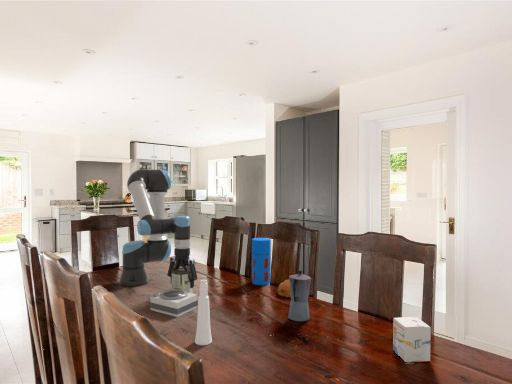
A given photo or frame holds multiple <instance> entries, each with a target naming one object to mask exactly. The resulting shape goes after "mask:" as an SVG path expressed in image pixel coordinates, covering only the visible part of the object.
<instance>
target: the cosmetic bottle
mask: <svg viewBox="0 0 512 384" xmlns="http://www.w3.org/2000/svg"><path fill="white" fill-rule="evenodd" d="M208 291H209V286H208V280H207V279H206V278H205V279H200V283H199V295H198V297H197V300H198V306H197V317H196V318H197V321H196V331H195V332H196V333H195V337H194V338H195V339H194V343H195V344H196V345H197V346H209V345H211V344H212V342H213V339H212V338H213V337H212V331H211V329H212V328H211V317H210V315H211V313H210V296H209V295H208V294H209V293H208Z"/></svg>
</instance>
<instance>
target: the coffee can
mask: <svg viewBox="0 0 512 384" xmlns="http://www.w3.org/2000/svg"><path fill="white" fill-rule="evenodd" d="M171 272H172V284H171V289H173V290H184V291H187V292H188V281H189V278H188V273H190V272H191V271H187V272H186V271H185V269H184V268H183V267H181V266H180V267H179V269H176V270H174V269H172V270H171ZM191 279H192V278H191Z"/></svg>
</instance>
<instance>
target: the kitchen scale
mask: <svg viewBox="0 0 512 384" xmlns="http://www.w3.org/2000/svg"><path fill="white" fill-rule="evenodd" d="M149 300H150V303H149V308H150V311H153V312H157V313H160V314H164V315H168V316H172V317H176V318H179V317H181V316H183V315H185V314H187V313H189V312H190V311H191V312H192V311H193V310H196V309H198V294H197V293H196V294H195V293H194V292H193V293H188V292H187V291H184V290H173V289H172V288H170V289H168V290H165V291H162V292H159V293H153V294H152V295H151V296H150V299H149Z"/></svg>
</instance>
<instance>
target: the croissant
mask: <svg viewBox="0 0 512 384" xmlns="http://www.w3.org/2000/svg"><path fill="white" fill-rule="evenodd" d="M276 292H277V294H278V295H279V296H281V297H284V296H285V297H284V298H288V297H290V299H291V293H290V281H289V278H288V279H285V280H284V281H283V282H280V284H279V285H278V287H277V290H276Z"/></svg>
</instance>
